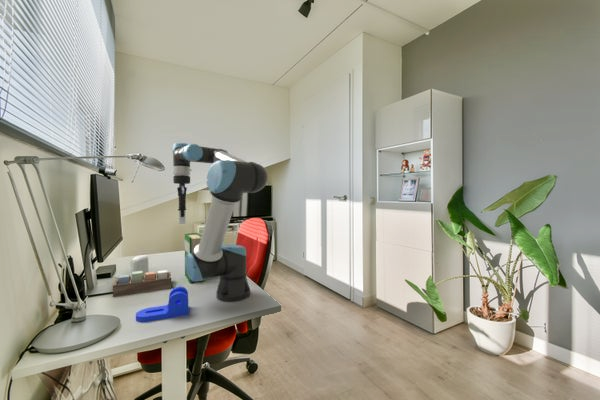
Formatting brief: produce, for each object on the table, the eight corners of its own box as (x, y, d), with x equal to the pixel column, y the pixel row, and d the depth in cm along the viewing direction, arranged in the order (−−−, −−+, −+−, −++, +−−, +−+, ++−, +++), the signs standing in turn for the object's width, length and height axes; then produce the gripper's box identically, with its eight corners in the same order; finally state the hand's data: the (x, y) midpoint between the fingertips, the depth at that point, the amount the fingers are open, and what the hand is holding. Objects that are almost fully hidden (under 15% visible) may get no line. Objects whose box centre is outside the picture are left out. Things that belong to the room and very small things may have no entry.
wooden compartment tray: (171, 288, 132) (171, 278, 132) (112, 296, 121) (112, 285, 121) (170, 281, 143) (170, 271, 143) (116, 288, 132) (116, 278, 132)
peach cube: (155, 281, 132) (155, 273, 132) (145, 282, 130) (145, 274, 130) (155, 279, 136) (155, 271, 136) (145, 280, 134) (145, 272, 134)
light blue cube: (128, 285, 127) (128, 276, 127) (118, 286, 125) (118, 277, 125) (129, 282, 131) (129, 274, 131) (119, 283, 129) (119, 275, 129)
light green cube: (142, 281, 130) (142, 272, 130) (132, 282, 128) (132, 274, 128) (142, 278, 134) (142, 270, 134) (132, 279, 132) (132, 271, 132)
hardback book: (204, 281, 143) (204, 236, 143) (189, 283, 139) (189, 237, 139) (198, 273, 158) (198, 232, 158) (184, 275, 154) (184, 233, 154)
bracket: (188, 306, 110) (187, 285, 110) (188, 315, 103) (188, 292, 103) (137, 314, 103) (137, 291, 103) (134, 324, 96) (133, 299, 95)
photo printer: (136, 280, 144) (136, 258, 144) (129, 280, 144) (129, 257, 144) (149, 275, 154) (149, 253, 154) (143, 274, 155) (142, 253, 154)
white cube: (167, 279, 135) (167, 272, 135) (158, 281, 133) (157, 273, 133) (167, 277, 139) (167, 270, 139) (158, 278, 137) (158, 271, 137)
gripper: (191, 174, 126) (191, 224, 127) (188, 176, 138) (189, 222, 138) (174, 174, 123) (174, 225, 123) (172, 176, 134) (173, 222, 135)
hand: (182, 223), depth 131 cm, fingers closed
